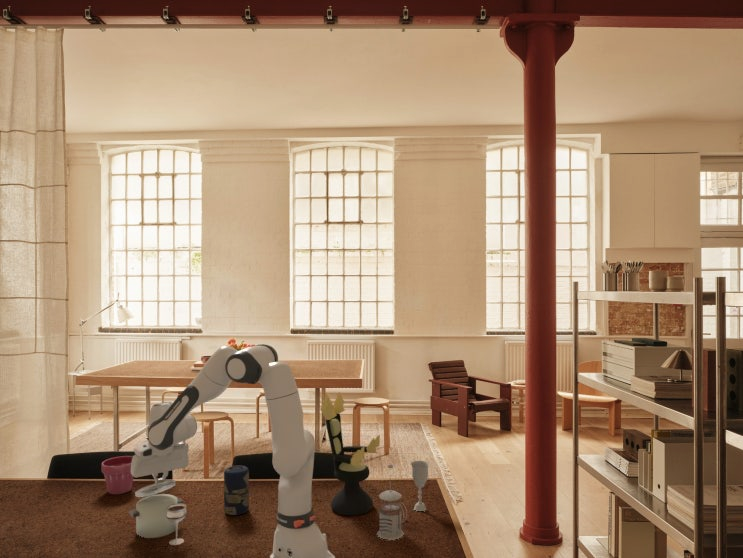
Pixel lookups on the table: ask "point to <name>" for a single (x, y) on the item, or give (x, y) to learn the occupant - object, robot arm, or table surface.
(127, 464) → the plant pot
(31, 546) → the table surface
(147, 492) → the lid
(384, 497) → the french press
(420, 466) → the chalice
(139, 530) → the pot
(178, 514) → the wineglass
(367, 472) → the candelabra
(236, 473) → the canister
